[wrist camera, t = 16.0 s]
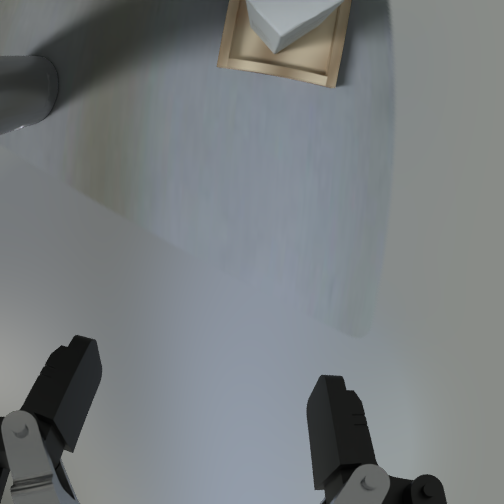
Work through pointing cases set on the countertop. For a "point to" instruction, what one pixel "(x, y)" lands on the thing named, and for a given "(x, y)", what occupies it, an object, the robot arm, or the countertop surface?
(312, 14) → the skincare box
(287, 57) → the holder
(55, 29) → the countertop surface
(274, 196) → the countertop surface
